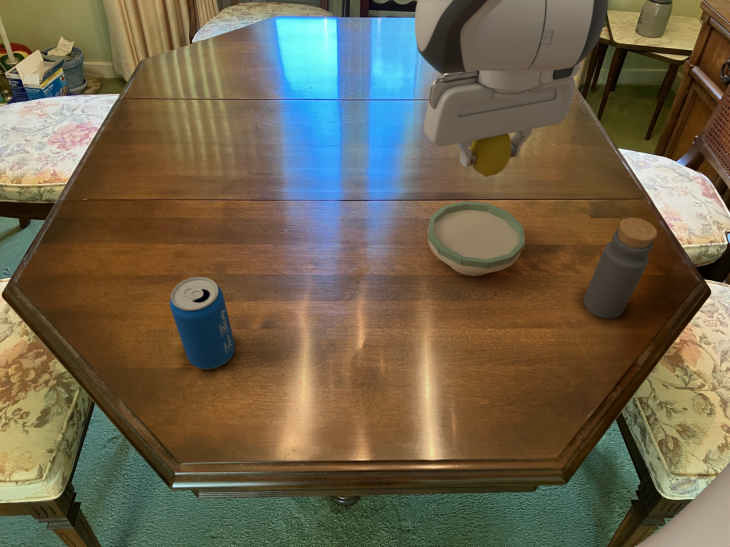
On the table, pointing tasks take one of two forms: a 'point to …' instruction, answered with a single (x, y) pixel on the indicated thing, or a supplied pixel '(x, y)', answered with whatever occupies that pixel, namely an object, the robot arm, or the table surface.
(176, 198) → the table surface
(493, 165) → the lemon
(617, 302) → the bottle
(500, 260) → the bowl
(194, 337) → the beverage can
